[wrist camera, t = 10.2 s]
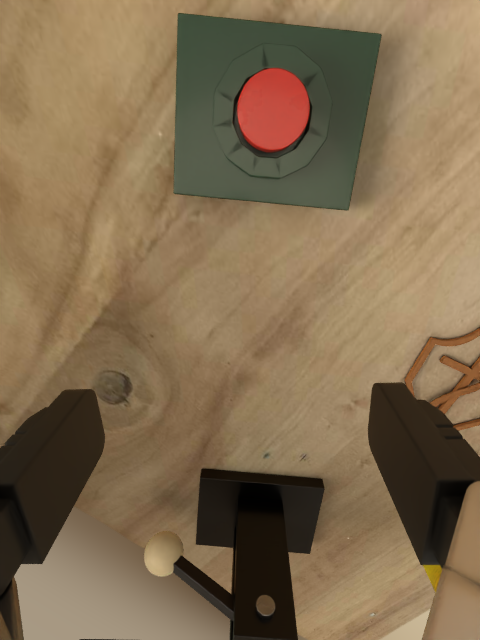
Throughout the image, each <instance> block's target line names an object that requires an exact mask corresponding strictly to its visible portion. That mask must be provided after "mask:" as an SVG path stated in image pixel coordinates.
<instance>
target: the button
mask: <svg viewBox="0 0 480 640" xmlns="http://www.w3.org/2000/svg"><path fill="white" fill-rule="evenodd" d="M309 113H310V103H309V97H308V93H307V91H306V88H305V87H304V85H303V83H302V82H301V81H300V79H299V78H298V77H297V76H296V75H294V74H293V73H291V72H289V71H288V70H285V69H281V68H268V69H265V70H262V71H260V72H258V73H256V74H255V75H254V76H252V77H251V78H250V79H249V80H248V82H247V83H246V84H245V86H244V87H243V89H242V91H241V94H240V96H239V100H238V106H237V115H238V122H239V127H240V130H241V132H242V134H243V136H244V138H245V139H246V141H247V142H248V143H249V144H250V145H251V146H253V147H254V148H256V149H258V150H260V151H263V152H271V153H272V152H278V151H281V150H284V149H286V148H287V147H289V146H290V145H291V144H293V143H294V142H295V141H296V140H297V139H298V138H299V137H300V136H301V134H302V133H303V131H304V129H305V127H306V125H307V122H308V119H309Z"/></svg>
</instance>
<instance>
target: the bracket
mask: <svg viewBox="0 0 480 640" xmlns="http://www.w3.org/2000/svg"><path fill="white" fill-rule="evenodd" d="M324 489H325V488H324V484H323V480H322V479H315V478H303V477H292V476H280V475H268V474H256V473H245V472H233V471H221V470H209V469H202V470H201V476H200V488H199V504H198V519H197V534H196V545H208V546H220V547H232V548H233V565H232V591H231V594H232V595H233V596H234V618H233V621H232V620H231V619H230V640H298V636H297V627H296V618H295V609H294V600H293V591H292V582H291V572H290V563H289V554H288V552H293V553H306V554H310V551H311V546H312V542H313V538H314V533H315V529H316V524H317V520H318V515H319V511H320V507H321V502H322V498H323V493H324Z"/></svg>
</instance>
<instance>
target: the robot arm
mask: <svg viewBox="0 0 480 640" xmlns="http://www.w3.org/2000/svg"><path fill="white" fill-rule="evenodd" d="M368 439H369V445H370V449H371V452H372V454H373V456H374V459H375V461H376V463H377V466H378V468H379V470H380V472H381V475H382V477H383V479H384V482H385V484H386V486H387V488H388V491H389V493H390V495H391V498H392V500H393V502H394V504H395V507H396V509H397V511H398V514H399V516H400V518H401V520H402V523H403V525H404V527H405V530H406V532H407V534H408V536H409V539H410V541H411V543H412V546H413V548H414V550H415V552H416V555H417V557H418V559H419V562H420V564H421V565H440V566H441V568H442V572H441V575H440V579H439V582H438V586H437V589H436V592H435V596H434V599H433V603H432V606H431V610H430V613H429V617H428V620H427V624H426V627H425V630H424V634H423V638H422V640H480V457H479V456H478V455H477V453H476V452H475V451H474V450H473V449H472V447H471V446H470V445H469V444H468V442H467V441H466V440H465V439H463V438H462V435H461V434H460V433H459V431H458V430H457V429H456V428H454V427H453V424H452V423H451V422H450V420H449V419H448V418H447V417H446V416H445V414H444V413H443V412H442V411H441V410H439V409H438V408H436V407H435V406H433V405H432V404H430V403H429V402H427V401H426V400H416V398H415V397H414V396H413V394H412V393H411V392H410V390H409V389H408V388H407V386H406V385H405V384H404V383H402V382H399V383H375V384H374V385H373V387H372V394H371V404H370V414H369V424H368ZM104 443H105V434H104V429H103V424H102V420H101V415H100V411H99V406H98V402H97V397H96V394H95V392H94V391H93V390H92V389H76V390H64V391H63V392H61V394H60V395H59V396H58V397H57V398H56V399H55V400H54V401H53V403H52V404H51V405H50V406H49V407H45V408H44V409H42V410H40V411H39V412H37V413H36V414H34V415H33V416H31V417H30V418H28V419H27V420H26V421H25V422H24V423H23V424H22V425H21V426H20V428H19V429H18V430H17V431H16V432H15V435H12V436H11V437H10V438H9V439H8V440H7V441H6V442H5V446H2V447H1V448H0V640H24V637H23V630H22V622H21V615H20V606H19V599H18V591H17V584H16V581H15V578H14V575H15V573H16V572H17V570H18V568H19V567H20V565H21V564H42V563H43V561H44V560H45V558H46V556H47V554H48V552H49V550H50V548H51V547H52V545H53V543H54V541H55V539H56V537H57V536H58V533H59V532H60V530H61V528H62V526H63V525H64V523H65V521H66V519H67V517H68V516H69V513H70V512H71V510H72V508H73V506H74V504H75V503H76V501H77V499H78V497H79V495H80V493H81V492H82V490H83V488H84V486H85V484H86V482H87V481H88V479H89V477H90V475H91V473H92V471H93V470H94V468H95V466H96V464H97V462H98V460H99V459H100V457H101V455H102V452H103V449H104ZM80 640H111V639H80ZM112 640H113V639H112Z"/></svg>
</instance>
